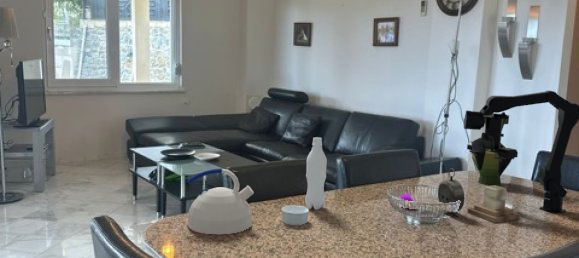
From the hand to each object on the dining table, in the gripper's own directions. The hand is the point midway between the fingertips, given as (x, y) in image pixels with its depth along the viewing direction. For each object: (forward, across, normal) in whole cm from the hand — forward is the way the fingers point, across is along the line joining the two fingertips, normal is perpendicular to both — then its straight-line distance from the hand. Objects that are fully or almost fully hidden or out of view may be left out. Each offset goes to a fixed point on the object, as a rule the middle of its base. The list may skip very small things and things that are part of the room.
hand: (489, 172), depth 198 cm
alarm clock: (+13, +2, -21) cm, 25 cm away
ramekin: (+13, -11, -75) cm, 77 cm away
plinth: (+12, +10, -8) cm, 18 cm away
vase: (+13, -25, +29) cm, 40 cm away
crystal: (+13, -10, -30) cm, 34 cm away
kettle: (+13, -18, -98) cm, 100 cm away
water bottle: (+13, -22, -61) cm, 66 cm away
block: (+10, +10, -8) cm, 16 cm away
